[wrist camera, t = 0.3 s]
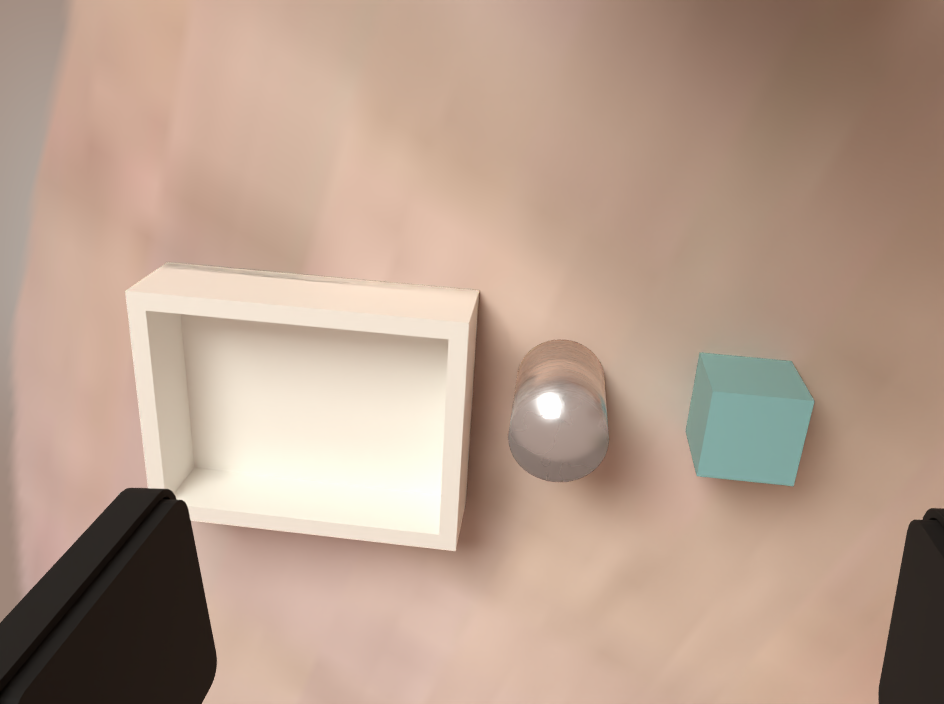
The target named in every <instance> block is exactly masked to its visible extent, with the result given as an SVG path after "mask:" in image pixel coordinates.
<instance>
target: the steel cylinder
mask: <svg viewBox="0 0 944 704" xmlns="http://www.w3.org/2000/svg"><path fill="white" fill-rule="evenodd" d="M508 440H509V446H510V450H511V452H512V455H513V457H514V458H515V460H516V461H517V463H518V464H519V465H520V466H521V467H522V468H523V469H524V470H525V471H527V472H528V473H530V474H531V475H533V476H535V477H537V478H540V479H543V480H546V481H552V482H568V481H573V480H576V479H579V478H582V477H584V476H586V475H588V474H589V473H591V472H592V471H593V470H595V469H596V468H597V467H598V466H599V464H600V463H601V462H602V460H603V459H604V457H605V455H606V452H607V449H608V444H609V434H608V420H607V407H606V393H605V379H604V372H603V368H602V365H601V363H600V361H599V360H598V358H597V357H596V355H595V354H594V353H593V352H592V351H591V350H589V349H588V348H587V347H585V346H583V345H582V344H579V343H577V342H573V341H569V340H551V341H547V342H544V343H541V344H539V345H537V346H536V347H534V348H533V349H532V350H530V351H529V352H528V353H527V354H526V355H525V357H524V358H523V360H522V361H521V364H520V366H519V369H518V374H517V380H516V387H515V394H514V401H513V407H512V414H511V421H510V428H509V438H508Z"/></svg>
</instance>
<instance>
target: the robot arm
mask: <svg viewBox="0 0 944 704" xmlns="http://www.w3.org/2000/svg"><path fill="white" fill-rule="evenodd" d="M216 666H217V657H216V650H215V645H214V640H213V634H212V629H211V624H210V619H209V614H208V609H207V603H206V598H205V593H204V588H203V583H202V577H201V572H200V567H199V562H198V557H197V551H196V546H195V541H194V536H193V531H192V526H191V520H190V515H189V510H188V507H187V504H186V503H185V501H183V500H177V499H176V496H175V495H174V493H173V492H172V491H171V490H169V489H156V488H127V489H125V490H124V491H122V492H121V493H120V494H119V495H118V496H117V497H116V499H115V500H114V501H113V502H112V503H111V504H110V505H109V506H108V507H107V508H106V509H105V510H104V512H103V513H102V514H101V515H100V516H99V517H98V518H97V519H96V520H95V521H94V522H93V523H92V524H91V526H90V527H89V528H88V529H87V530H86V531H85V532H84V533H83V534H82V535H81V536H80V537H79V538H78V540H77V541H76V542H75V543H74V544H73V545H72V546H71V547H70V548H69V549H68V550H67V551H66V553H65V554H64V555H63V556H62V557H61V558H60V559H59V560H58V561H57V562H56V563H55V564H54V565H53V567H52V568H51V569H50V570H49V571H48V572H47V573H46V574H45V575H44V576H43V577H42V578H41V580H40V581H39V582H38V583H37V584H36V585H35V586H34V587H33V588H32V589H31V590H30V591H29V592H28V594H27V595H26V596H25V597H24V598H23V599H22V600H21V601H20V602H19V603H18V604H17V605H16V606H15V608H14V609H13V610H12V611H11V612H10V613H9V614H8V615H7V616H6V617H5V618H4V619H3V621H2V622H1V623H0V704H202V702H203V700H204V698H205V696H206V695H207V693H208V691H209V689H210V687H211V685H212V683H213V680H214V677H215V673H216ZM879 704H944V509H936V508H931V509H929V510H928V511H927V512H926V513H925V515H924V517H923V520H913V521H911V523H910V524H909V527H908V530H907V535H906V541H905V546H904V552H903V557H902V563H901V569H900V574H899V580H898V585H897V591H896V596H895V602H894V607H893V613H892V618H891V624H890V629H889V635H888V640H887V646H886V651H885V657H884V662H883V668H882V673H881V679H880V684H879Z"/></svg>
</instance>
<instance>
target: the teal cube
mask: <svg viewBox="0 0 944 704" xmlns="http://www.w3.org/2000/svg"><path fill="white" fill-rule="evenodd" d="M813 405H814V399H813V398H812V396H811V394H810V392H809V391H808V389H807V387H806V385H805V384H804V382H803V380H802V379H801V377H800V375H799V373H798V372H797V370H796V368H795V366H794V365H793V363H792V361H785V360H774V359H763V358H753V357H742V356H732V355H721V354H710V353H700V354H699V359H698V365H697V370H696V376H695V381H694V387H693V393H692V398H691V404H690V409H689V415H688V420H687V426H686V435H687V439H688V443H689V447H690V451H691V455H692V459H693V463H694V467H695V471H696V475H697V476H701V477H711V478H720V479H730V480H739V481H749V482H758V483H768V484H777V485H787V486H794V483H795V479H796V475H797V470H798V466H799V462H800V458H801V454H802V450H803V446H804V442H805V438H806V434H807V430H808V426H809V422H810V417H811V413H812V409H813Z"/></svg>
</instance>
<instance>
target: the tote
mask: <svg viewBox="0 0 944 704" xmlns="http://www.w3.org/2000/svg"><path fill="white" fill-rule="evenodd" d="M125 294H126V303H127V311H128V320H129V328H130V337H131V346H132V354H133V363H134V372H135V380H136V389H137V397H138V406H139V415H140V423H141V432H142V440H143V449H144V458H145V466H146V475H147V484H148V488H156V489H169V490H171V491H172V492H173V493H174V495H175V496H176V499H177V500H183V501H185V503H186V504H187V507H188V510H189V515H190V520H191V521H198V522H207V523H215V524H224V525H233V526H241V527H250V528H259V529H267V530H276V531H285V532H293V533H302V534H311V535H319V536H328V537H337V538H345V539H354V540H363V541H371V542H380V543H389V544H397V545H406V546H415V547H423V548H432V549H441V550H449V551H456V547H457V543H458V538H459V533H460V528H461V524H462V519H463V514H464V510H465V505H466V495H467V479H468V463H469V447H470V431H471V415H472V399H473V383H474V367H475V351H476V335H477V319H478V304H479V290H471V289H460V288H449V287H437V286H426V285H415V284H404V283H393V282H382V281H371V280H360V279H349V278H338V277H327V276H316V275H305V274H294V273H283V272H272V271H261V270H249V269H238V268H227V267H216V266H205V265H194V264H183V263H172V262H167V263H165V264H164V265H162V266H161V267H159V268H158V269H157V270H155V271H154V272H152V273H151V274H149V275H148V276H146V277H145V278H143V279H142V280H140V281H139V282H137V283H136V284H135V285H133V286H132V287H130V288H129V289H127V290H126V291H125Z"/></svg>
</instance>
